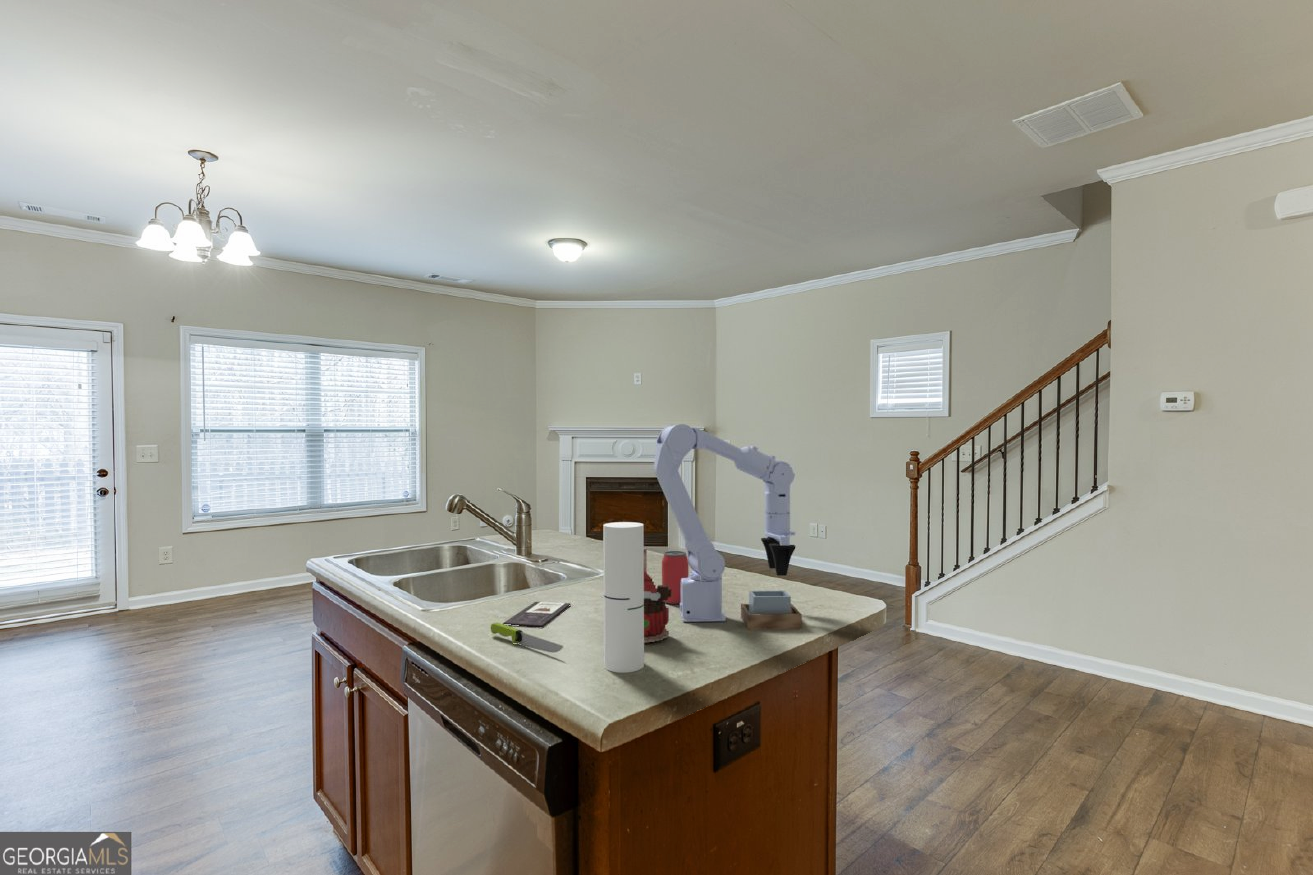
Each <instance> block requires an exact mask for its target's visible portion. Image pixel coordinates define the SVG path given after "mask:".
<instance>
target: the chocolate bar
mask: <svg viewBox="0 0 1313 875" xmlns="http://www.w3.org/2000/svg"><path fill="white" fill-rule="evenodd" d="M569 605H570V606H571V602H570V603H567V602H550V601H534V602H533V603H532V604H530V605H528V606H527V607H525V608H523V609H522V610H521V611H519V612H518V613H516V614H515V615H513V616H512V617H510V618H509V619H507V620H505V621H504V622H502V624H511V625H519V626H527V627H526V628H536V627H543V628H544V627H545V626H547V625H548V624H550V623H551V622H552V621H553V620H555V617H556V616H557V617H558V616H560V615H561V614H562V613H563V612H565V611H566V610H567V609H568V608H570V607H569ZM565 609H566V610H565ZM560 613H561V614H560ZM557 617H556V618H557ZM547 623H548V624H547ZM546 624H547V625H546ZM519 626H518V627H519Z"/></svg>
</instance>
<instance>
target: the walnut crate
mask: <svg viewBox="0 0 1313 875" xmlns="http://www.w3.org/2000/svg"><path fill="white" fill-rule="evenodd" d="M802 618H803V617H802V613H801V612H800V611H799V610H798V609H797V607H795V605H793V604H792V603H791V614H750V613H749V603H740V619H741V620H742V622H743V624H744V625H745V627H746V629H747V631H748V630H749V631H751V630H752V631H754V630H755V631H756V630H759V631H760V630H802V629H803V628H802V626H803V624H802V622H803V621H802Z"/></svg>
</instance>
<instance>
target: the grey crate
mask: <svg viewBox="0 0 1313 875" xmlns="http://www.w3.org/2000/svg"><path fill="white" fill-rule="evenodd" d="M791 599H792V597H791V595H790V594H789V593H788V592H787V591H786V590H749V591H748V604H749V613H750V614H791V604H792V602H791V601H792V600H791Z"/></svg>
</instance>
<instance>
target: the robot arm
mask: <svg viewBox="0 0 1313 875" xmlns="http://www.w3.org/2000/svg"><path fill="white" fill-rule="evenodd" d="M701 449H702V450H703V449H704V450H706V451H709V452H711V453H713V454H715V455H718V456H721V457H723V458H726V459H727V460H731V461H733V464H734V466H735V468H736V469H737V470H738V471H739V470H740V471H741V472H743V473H746V474H747V475H750V476H752V477H755V478H756V479H759V480H762V482H763V483H764V531H763V532H764V533H763V535H764V536H765V537H762V538H760V541H761V542H762V545H763V546H764V549H765V553H766V559H767V563H768V567H769V569H774V570H775V574H776V576H778V577H779V576H780V577H781V576H783V577H784V576H787V575H788V571H789V565H790V561H791V559H792V555H793V553H794V551H795V550H796V548H797V547H796V545H795V544H791V542H790V538H791V537H792V536H796V531H794V530H791V484H792V483H793V481H794V479H795V478H796V477H795V475H796V473H795V472H794V470H793V468H792V466H791V465H790V464H789V463H788V462H786V461H783V460H782V461H781V460H776V456H775V455H773V454H770V455H768V454H766V453H763V452H762V451H759V450H758V449H759V447H757V446H755V445H750V446H748V445H745V446H744V447H741V448H739V447H737V446H735V445H733V444H731V443H729V442H727V441H725V440H724V439H721V438H719V437H717V436H715V435H714V434H711V433H709V432H707V431H706V430H703V429H699V428H696V427H691V426H690V425H687V424H684V423H677V424H669V425H667V426H665V427H664V428H662V430H661V431H660V433H659V435H658V437H657V438H656V440H655V455H654V462H653V472H654V474H655V476H656V478H657V481H658V484H659V485H660V488H661V490H662V492H663V495H664V496H665V499H666V502H667V503H668V506H669V508H670V510H671V512H672V515H673V518H674V519H675V521H676V523H677V526H678V528H679V531H680V533H681V535H682V537H683V539H684V547H685V550H686V552H687V553H686V554H687V559H688V567H689V568H690V569H691V571H690V573H689V578H681V603H680V604H679V611H680V615H681V619H682V622H685V623H687V622H688V623H694V622H696V623H697V622H701V623H702V622H726V621H727V618H726V616H725V614H724V612H723V578H722V577H723V573H724V572H725V569H726V562H725V558H724V556H723V555H722V554H721V553H720V552H718V551H717V550H716V549H715V545H714V543H713V542H712V541H711V539H710V538H709V537H708V535H707V533H706V531H705V528H704V526H703V524H702V522H701V519H700V518H699V516H698V514H697V511H696V509H695V506H694V504H693V501H692V499H691V497H690V494H689V493H688V490H687V488H686V486H685V483H684V481H683V479H682V477H681V475H680V472H679V469H680V466H681V464H682V462H683V460H684V458H685V457H686V456H687V455H688V454H689V453H690V451H692V450H701Z"/></svg>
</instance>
